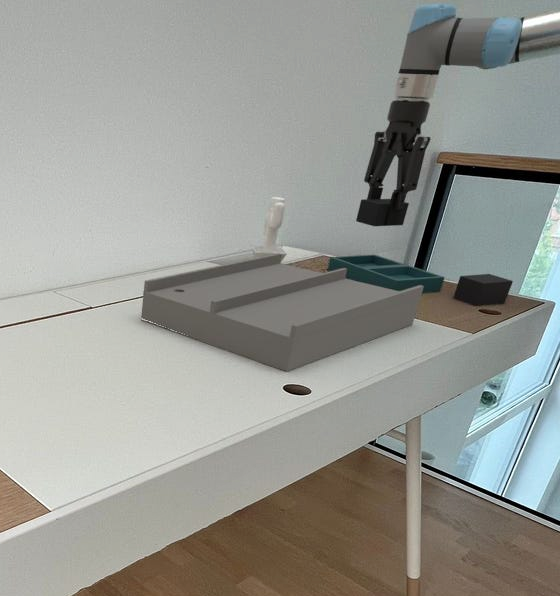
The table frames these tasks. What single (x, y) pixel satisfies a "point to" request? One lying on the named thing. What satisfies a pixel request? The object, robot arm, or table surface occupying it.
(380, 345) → the table surface
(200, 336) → the desk organizer
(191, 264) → the table surface
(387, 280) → the back divided tray
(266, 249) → the figurine
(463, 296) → the pad
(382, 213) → the pad
